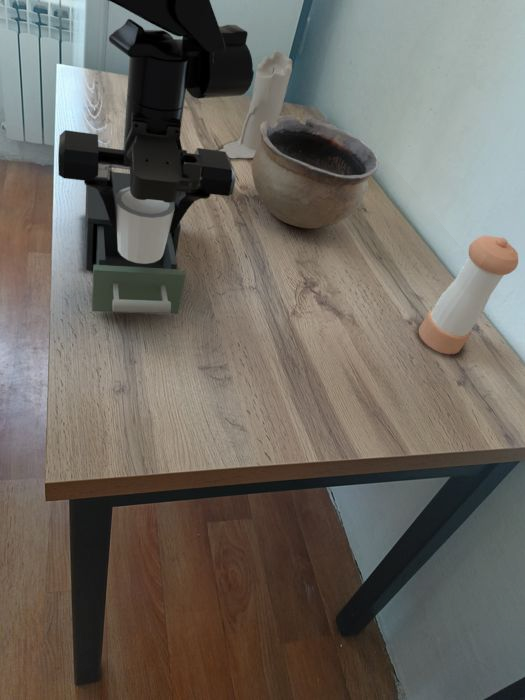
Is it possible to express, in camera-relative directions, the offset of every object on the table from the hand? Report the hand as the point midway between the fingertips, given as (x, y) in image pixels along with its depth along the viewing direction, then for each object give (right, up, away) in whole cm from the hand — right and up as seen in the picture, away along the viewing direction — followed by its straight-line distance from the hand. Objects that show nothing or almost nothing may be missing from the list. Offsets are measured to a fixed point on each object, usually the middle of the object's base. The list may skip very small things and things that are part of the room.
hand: (142, 229), depth 65 cm
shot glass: (-1, -2, +2) cm, 3 cm away
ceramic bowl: (+21, +11, +40) cm, 46 cm away
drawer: (-3, -7, +10) cm, 12 cm away
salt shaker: (+43, -13, +22) cm, 50 cm away
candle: (+11, +30, +55) cm, 64 cm away
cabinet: (-7, +2, +19) cm, 20 cm away
